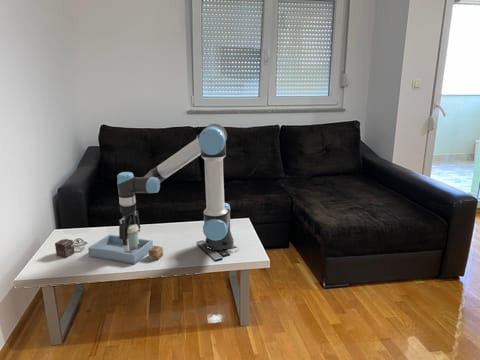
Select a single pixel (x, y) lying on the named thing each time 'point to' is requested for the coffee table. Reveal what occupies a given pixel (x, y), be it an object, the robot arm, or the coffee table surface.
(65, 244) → the box
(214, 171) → the robot arm
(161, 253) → the walnut cube
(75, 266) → the coffee table surface
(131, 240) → the coffee cup
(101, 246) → the tray
